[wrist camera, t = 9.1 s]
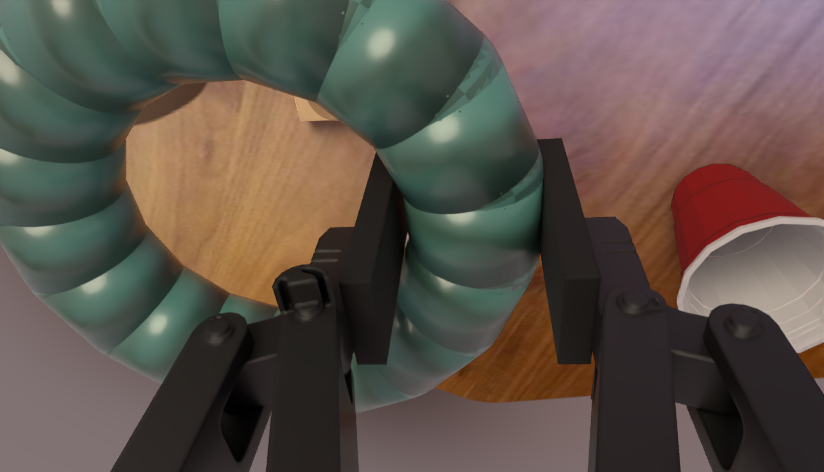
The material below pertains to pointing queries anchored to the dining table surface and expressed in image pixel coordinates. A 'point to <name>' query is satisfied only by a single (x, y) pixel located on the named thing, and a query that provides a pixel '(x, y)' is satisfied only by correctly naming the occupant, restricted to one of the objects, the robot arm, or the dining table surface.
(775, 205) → the plastic cup
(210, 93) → the dining table surface
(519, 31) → the dining table surface
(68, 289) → the ring
